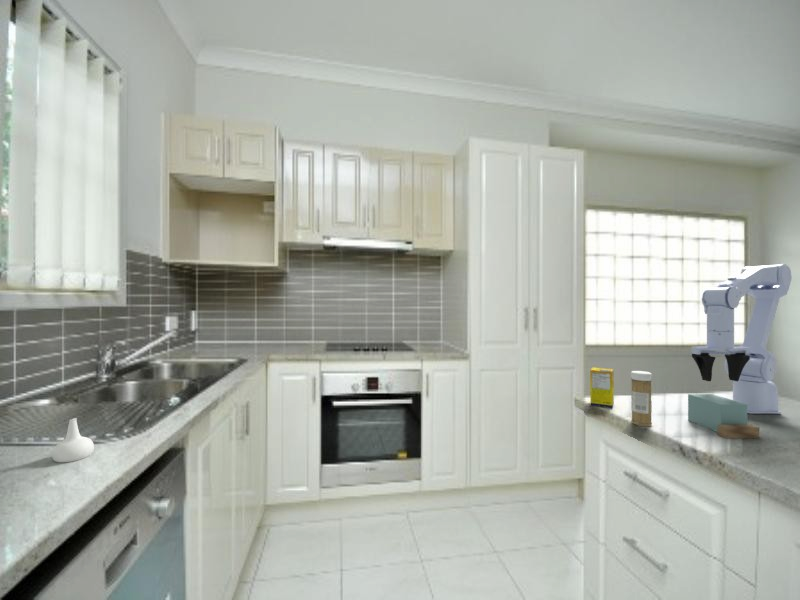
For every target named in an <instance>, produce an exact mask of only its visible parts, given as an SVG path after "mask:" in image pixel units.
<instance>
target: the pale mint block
mask: <svg viewBox="0 0 800 600" xmlns="http://www.w3.org/2000/svg"><path fill="white" fill-rule="evenodd" d="M687 398H688V399H687V420H688V421H689V422H693V423H694V424H697V425H700V426H702V427H705V428H707V429H709V430H712V431H714V432H717V433H718V424H748V413H747V404H744V403H741V402H737V401H734V400H733V399H731V398H730V399H729V398H726V397H724V396H720V395H716V394H713V393H688V394H687Z"/></svg>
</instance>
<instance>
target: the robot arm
mask: <svg viewBox="0 0 800 600" xmlns="http://www.w3.org/2000/svg"><path fill="white" fill-rule="evenodd" d="M792 277H793V276H792V272H791V268H790V266H789V265H787V264H786V263H781V264H769V265H754V266H750V265H746V266H744V267H743V268H741V272H740V275H739V276H729V277H727V280H725V281H724V282H721V283H719V285H717V286H716V287H709V288H707V289H706V290H704V291H703V292H702V297H701V303H702V305H703V308H704V309H703V311H704V314H705V315H706V345H703V346H702V345H701V346H691V357H692V359H693V360H694V361H695V364H696V366H697V367H698V370H699V373H700V376H701V379H702V381H706V382H711V381H712V377H713V366H714V363H715V360H716V357H715V356H711V355H724V357H725V361H724V369H725V372H726V374H727V375H728V380H729V381H732V400H734V401H737V402H741V403H744V404H747V414H754V415H755V414H759V415H760V414H782V412H781V411H779V390H778V387H777V385H776V384H775V382H773V381H772V380H773V379H774V378H775V376H776V372H777V368H776V366H777V358H776V356H775V355H774V354H773V353H772V352H771V351H769V350H767V345H768V342H769V338H770V334H771V331H772V328H773V323H774V319H775V317H776V313H777V310H778V309H777V308H778V305H779V302H780V299H781V298H782V297H784V296H787V295H788V291H789V289H790V286H791V282H792ZM745 295H748V296H750V297H753V298H754V299H755V302H754V304H753V309H752V312H751V315H750V319H749V322H748V325H747V328H746V332H745V337H744V339H743V344H741V345H739V346H735V309H737V308H738V306H739V304H740V301H741V300H742V297H744V296H745Z"/></svg>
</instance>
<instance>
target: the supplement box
mask: <svg viewBox="0 0 800 600" xmlns="http://www.w3.org/2000/svg"><path fill="white" fill-rule="evenodd" d="M589 373H590V375H589V377H590V379H589V380H590V384H589V385H590V387H589V389H590V391H589V392H590V394H589V395H590V406H595V407H601V408H610V409H613V408H614V405H615V404H614V401H615V400H614V399H615V393H614V390H615V387H614V378H615V377H614V368H605V367H595V366H592V368H590V371H589Z"/></svg>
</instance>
